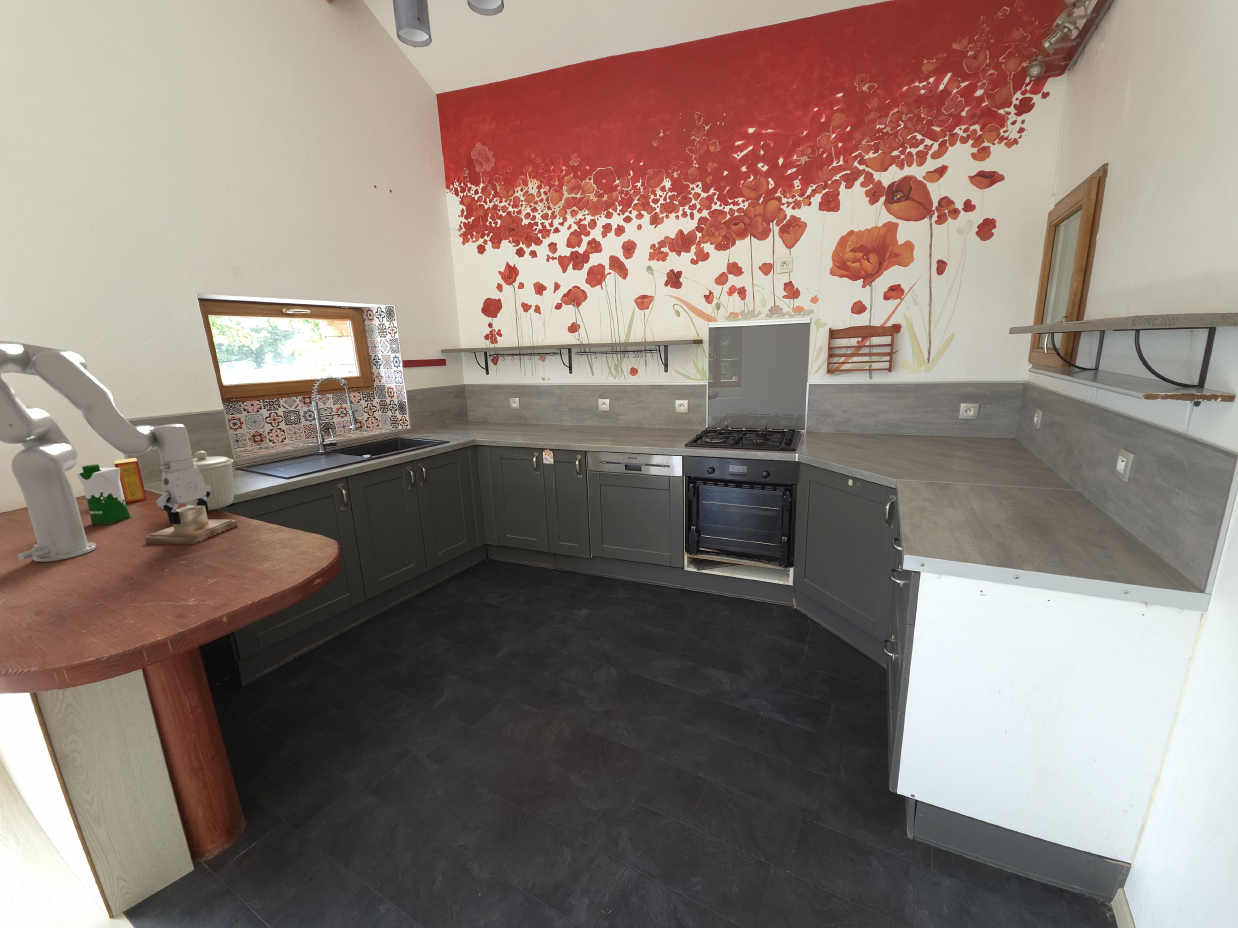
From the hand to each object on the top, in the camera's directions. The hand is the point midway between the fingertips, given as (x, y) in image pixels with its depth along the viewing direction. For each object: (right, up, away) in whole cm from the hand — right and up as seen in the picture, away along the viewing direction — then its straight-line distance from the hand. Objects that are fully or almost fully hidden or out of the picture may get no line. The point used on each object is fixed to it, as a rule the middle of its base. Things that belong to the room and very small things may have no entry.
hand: (190, 518), depth 164 cm
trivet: (0, -5, +1) cm, 5 cm away
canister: (-16, +1, +30) cm, 34 cm away
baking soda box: (-58, +3, +44) cm, 73 cm away
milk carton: (-41, -3, +17) cm, 45 cm away
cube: (0, -3, +1) cm, 3 cm away
